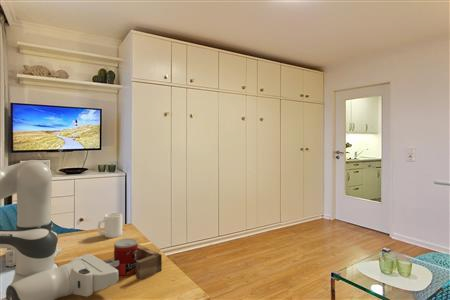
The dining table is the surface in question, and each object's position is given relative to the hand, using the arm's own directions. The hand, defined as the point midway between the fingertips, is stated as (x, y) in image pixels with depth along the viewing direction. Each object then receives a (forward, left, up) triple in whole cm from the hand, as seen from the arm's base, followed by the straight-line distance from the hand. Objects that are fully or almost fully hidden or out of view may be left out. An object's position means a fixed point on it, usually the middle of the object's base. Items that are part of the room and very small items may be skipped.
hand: (117, 261), depth 95 cm
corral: (0, +8, -5) cm, 10 cm away
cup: (-40, +19, -6) cm, 45 cm away
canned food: (-1, +4, -6) cm, 7 cm away
